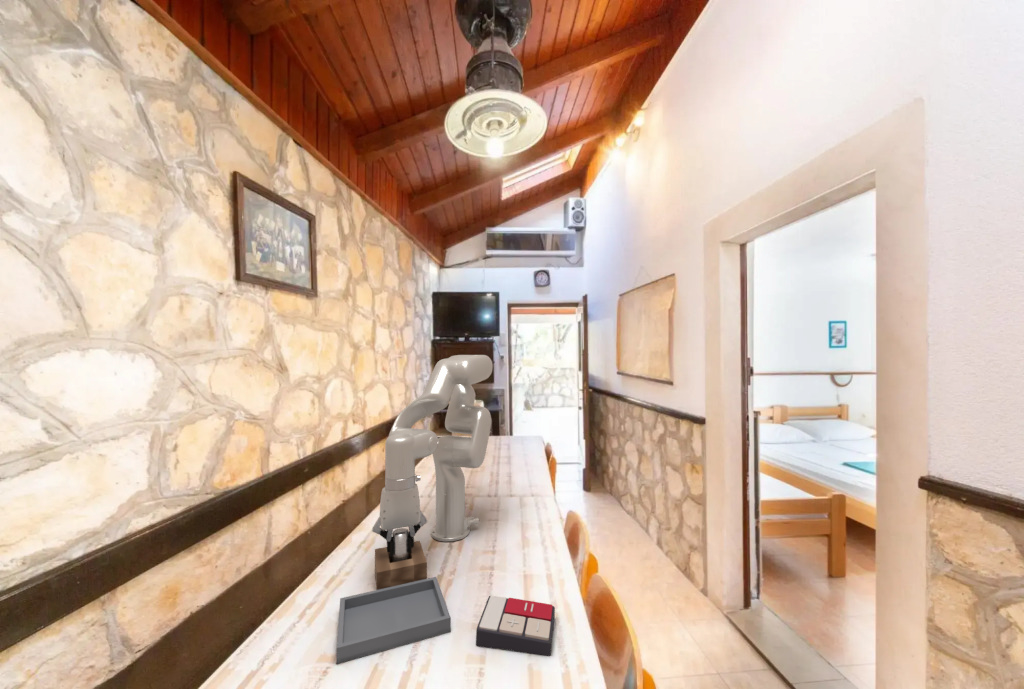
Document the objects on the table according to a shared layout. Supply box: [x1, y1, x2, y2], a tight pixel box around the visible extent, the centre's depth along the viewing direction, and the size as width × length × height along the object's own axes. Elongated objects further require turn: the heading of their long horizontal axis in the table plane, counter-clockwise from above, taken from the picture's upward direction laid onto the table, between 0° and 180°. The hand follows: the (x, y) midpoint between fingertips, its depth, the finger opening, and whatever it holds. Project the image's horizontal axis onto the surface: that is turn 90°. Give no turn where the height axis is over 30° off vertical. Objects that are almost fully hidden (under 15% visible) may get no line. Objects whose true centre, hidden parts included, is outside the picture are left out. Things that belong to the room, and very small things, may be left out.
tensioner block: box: [374, 540, 428, 590], centre depth 100 cm, size 12×12×6 cm
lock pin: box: [392, 527, 409, 562], centre depth 100 cm, size 4×4×12 cm
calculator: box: [475, 595, 556, 657], centre depth 81 cm, size 11×4×15 cm
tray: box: [336, 576, 452, 665], centre depth 84 cm, size 22×16×3 cm
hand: (400, 551), depth 100 cm, fingers closed on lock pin, 4 cm apart
